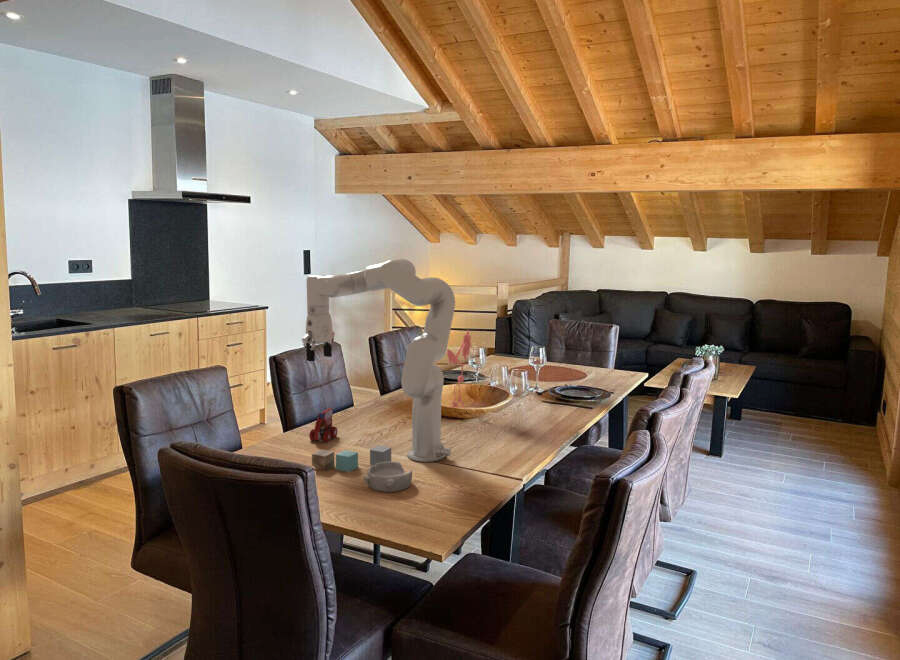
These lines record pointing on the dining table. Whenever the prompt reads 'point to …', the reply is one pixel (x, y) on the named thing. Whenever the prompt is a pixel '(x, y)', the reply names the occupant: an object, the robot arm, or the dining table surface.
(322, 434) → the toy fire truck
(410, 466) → the dining table surface
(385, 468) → the dish
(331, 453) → the walnut block
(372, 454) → the slate grey block
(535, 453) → the dining table surface
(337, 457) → the teal block
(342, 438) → the dining table surface
